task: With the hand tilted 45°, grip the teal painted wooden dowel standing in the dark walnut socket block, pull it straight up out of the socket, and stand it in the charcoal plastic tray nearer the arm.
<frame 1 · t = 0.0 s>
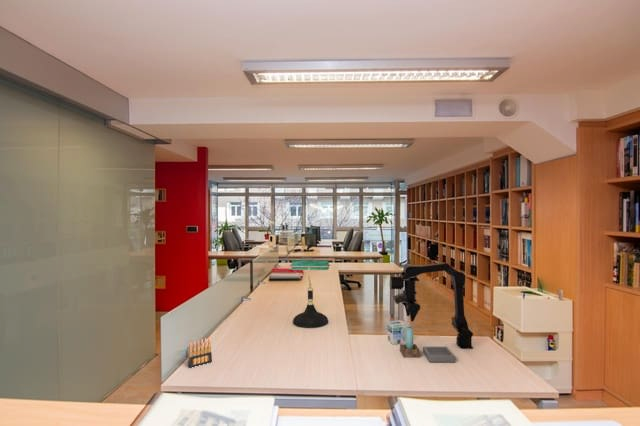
hand: (410, 318, 185), 15 cm above the table, tool pointing down, fingers open, 9 cm apart
tray: (438, 357, 170), on the table
ammunition clip: (200, 365, 165), on the table
banker's lamp: (310, 322, 227), on the table
socket block: (409, 354, 175), on the table
light bulb box: (398, 342, 192), on the table
dowel: (409, 341, 175), in the socket block
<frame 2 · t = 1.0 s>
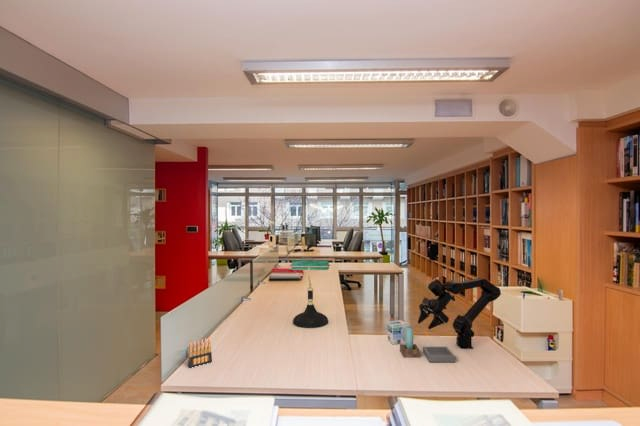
hand: (423, 325, 177), 13 cm above the table, tool tilted 45°, fingers open, 9 cm apart
nothing on the table moved.
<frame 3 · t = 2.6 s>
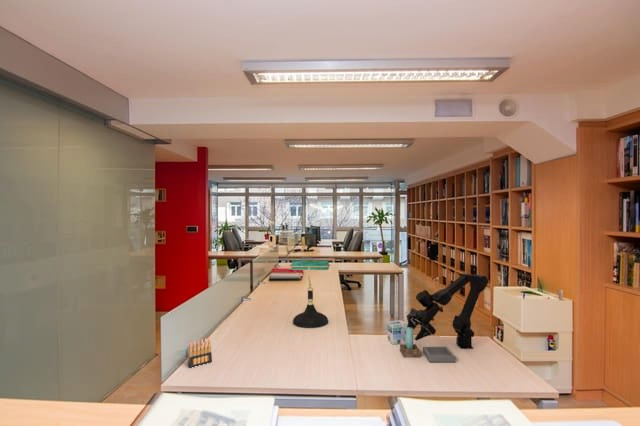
hand: (410, 336, 175), 9 cm above the table, tool tilted 45°, fingers open, 9 cm apart
nothing on the table moved.
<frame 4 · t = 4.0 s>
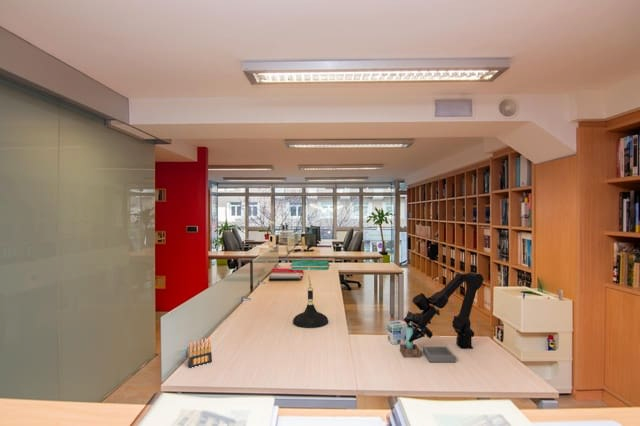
hand: (407, 340, 174), 7 cm above the table, tool tilted 45°, fingers closed on dowel, 3 cm apart
dowel: (409, 341, 175), in the socket block, touching gripper
everything else where it was.
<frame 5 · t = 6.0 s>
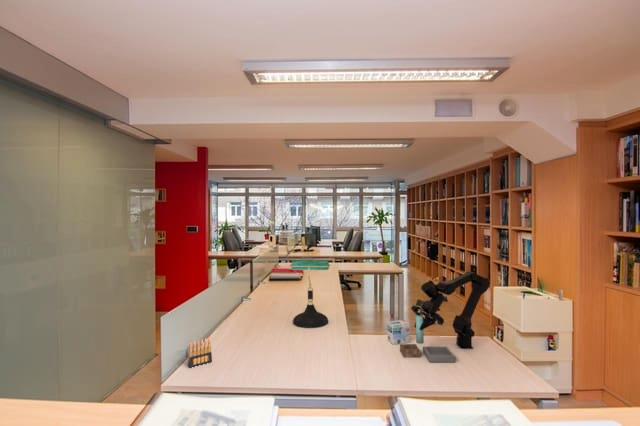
hand: (417, 328, 172), 14 cm above the table, tool tilted 45°, fingers closed on dowel, 3 cm apart
dowel: (419, 329, 173), point 13 cm above the table, touching gripper
everything else where it was.
when the fingers open (8 cm above the table, at t = 8.1 s): dowel stays where it is, resting on tray.
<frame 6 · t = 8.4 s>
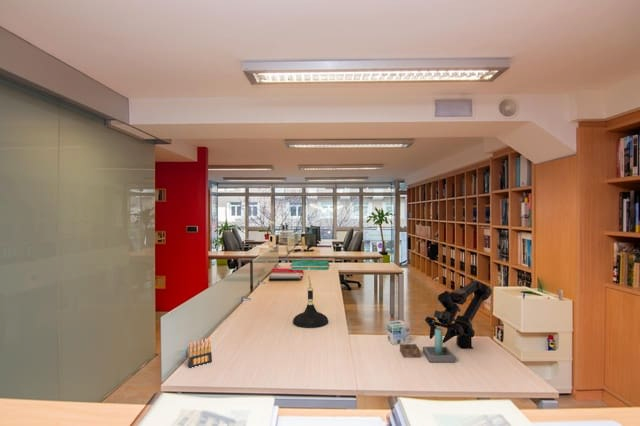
hand: (436, 340, 169), 9 cm above the table, tool tilted 45°, fingers open, 7 cm apart
dowel: (438, 342, 170), in the tray
everything else where it was.
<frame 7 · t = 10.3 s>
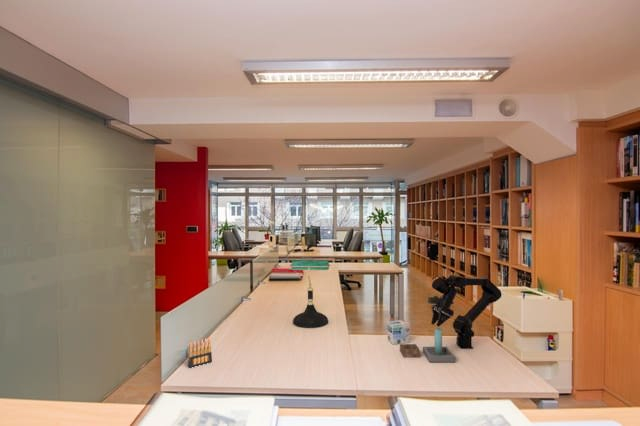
hand: (434, 325, 178), 13 cm above the table, tool tilted 30°, fingers open, 9 cm apart
nothing on the table moved.
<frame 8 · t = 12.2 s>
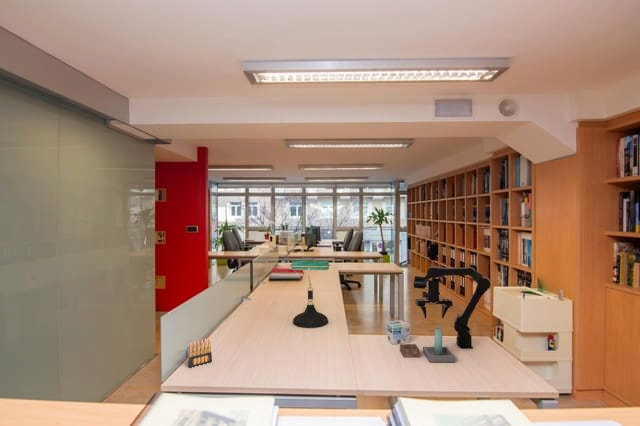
hand: (433, 318, 190), 13 cm above the table, tool pointing down, fingers open, 9 cm apart
nothing on the table moved.
at the end: dowel inside the target area on the tray (0.0 cm from its centre), point 7.0 cm above the tray's base; the gripper is holding nothing; dowel moved 13.6 cm from its start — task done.
